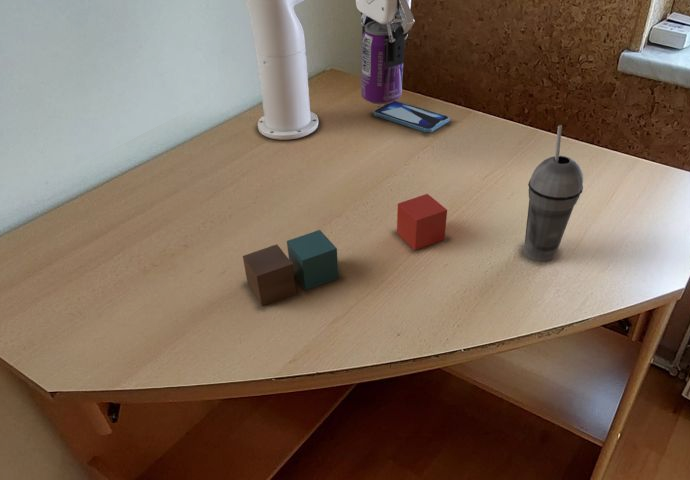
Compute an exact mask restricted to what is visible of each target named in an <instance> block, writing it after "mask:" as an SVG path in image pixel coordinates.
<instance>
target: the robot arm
mask: <svg viewBox="0 0 690 480" xmlns="http://www.w3.org/2000/svg"><path fill="white" fill-rule="evenodd" d="M305 1H306V0H244V2H245V4H246V8H247V11H248V15H249V19H250V23H251V29H252V34H253V41H254V49H255V55H256V61H257V62H256V64H257V71H258V77H259V85H260V95H261V100H262V101H261V102H262V108H263V109H262V110H263V115H262V116H261V117H260V118H259V119H258V121H257V129H258V131H259V133H260V134H261V135H263V136H264V137H266V138H268V139H272V140H277V141H278V140H280V141H288V140H297V139H300V138H304V137H306V136H308V135H310V134H313V133H314V132H315V131H316V130H317V129H318V128H319V117H318V115H317V114H316V113H315V112H314V111H311V104H310V89H309V77H308V76H309V75H308V63H307V50H306V48H307V47H306V39H305V38H306V37H305V31H304V28H303V25H302V24H301V21H300V19H299V18H298V16H297V14H296V11H295V6H297V5H299V4H301V3H302V2H305ZM355 6H356V9H357V10H358V11H359V12H360V15H361V18H360V24H361V26H362V27H361V28H362V30H361V31H362V34H361V35H362V36H363V34H364V32H365V25H366V24H367V23H369V22H371V21H376V22H378V23H380V24H382V25H385V24H386V26H387V31H388V37H389V41H386V66H387V67H392V66H396V65H400V64H403V65H404V62H405V52H406V51H405V48H406V40H407V39H408V35H409V34H410V32H411V29H412V27H413V26H414V24H415V17H414V15H413V12H412V10H411V6H412V0H355ZM394 17H396V18H394ZM397 23H398V24H399V27H398V28H397V29H396V30H395V32H394V27H393V24H397ZM362 36H361V37H362Z"/></svg>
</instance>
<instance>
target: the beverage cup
mask: <svg viewBox="0 0 690 480" xmlns="http://www.w3.org/2000/svg"><path fill="white" fill-rule="evenodd" d="M562 131H563V126H562V125H561V124H558V126H557V132H556V142H555V152H554V156H550V157H548V158H546V159H544V160H542V161H541V162H540V163H539V164H538V165H537V166H536V167H535V169H534V170H533V172H532V174H531V177H530V178H529V181H528V184H527V185H528V198H529V199H528V207H527V208H528V209H527V216H526V217H527V218H526V227H525V235H524V251H523V252H524V255H525V256H526V258H528V259H529V260H531V261H533V262H538V263H546V262H550V261H552V260H553V259H554V258H555V256H556V254H557V251H558V250H559V247H560V245H561V242H562V239H563V237H564V234H565V231H566V228H567V226H568V224H569V220H570V218H571V216H572V212H573V210H574V208H575V205H576V204H577V203H578V200H579V199H580V196H581V194H582V193H583V190H584V174H583V171H582V169H581V167H580V165H579V164H578V163H577V162H576V161H575V160H574V159H572V158H571V157H568V156H565V155H560V150H561V141H562Z"/></svg>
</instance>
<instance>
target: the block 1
mask: <svg viewBox="0 0 690 480" xmlns="http://www.w3.org/2000/svg"><path fill="white" fill-rule="evenodd" d="M242 260H243V266H244V271H245V276H246V281H247V286H248V287H249V289H250V291H251V293H253V295H254V297H255V298H256V299H257V301H258V303H259V304H260V305H261V306H262V307H264V306H266V305H269V304H272V303H275V302H276V301H279V300H282V299H285V298H288V297H291V296H293V295H296V294H297V289H296V283H295V282H296V281H295V276H294V272H293V264H292V263H291V261H290V260H289V256H287V255H286V254H285V252H284V251H283V249H282V248H281V247H280V246H279V244H274V245H271V246H268V247H265V248H261V249H259V250H256V251H253V252H250V253H247V254H244V255H242Z"/></svg>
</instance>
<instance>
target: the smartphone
mask: <svg viewBox="0 0 690 480" xmlns="http://www.w3.org/2000/svg"><path fill="white" fill-rule="evenodd" d="M373 116H375V117H377V118H381V119H384V120H386V121H390V122H393V123H395V124H399V125H403V126H406V127H409V128H411V129H415V130H418V131H421V132H423V133H432V132H434V131H435V130H438V129H439V128H441V127H442V126H444V125H445V124H447V123H449V122H450V117H449V116H448V115H447V114H446V115H445V114H442V113H440V112H436V111H432V110H430V109H426V108H422V107H419V106H416V105H412V104H410V103H405V102H403V101H399V100H395V101H393V102H391V103H389V104H382V105H381V106H379V107H377V108H375V109H374V110H373Z"/></svg>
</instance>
